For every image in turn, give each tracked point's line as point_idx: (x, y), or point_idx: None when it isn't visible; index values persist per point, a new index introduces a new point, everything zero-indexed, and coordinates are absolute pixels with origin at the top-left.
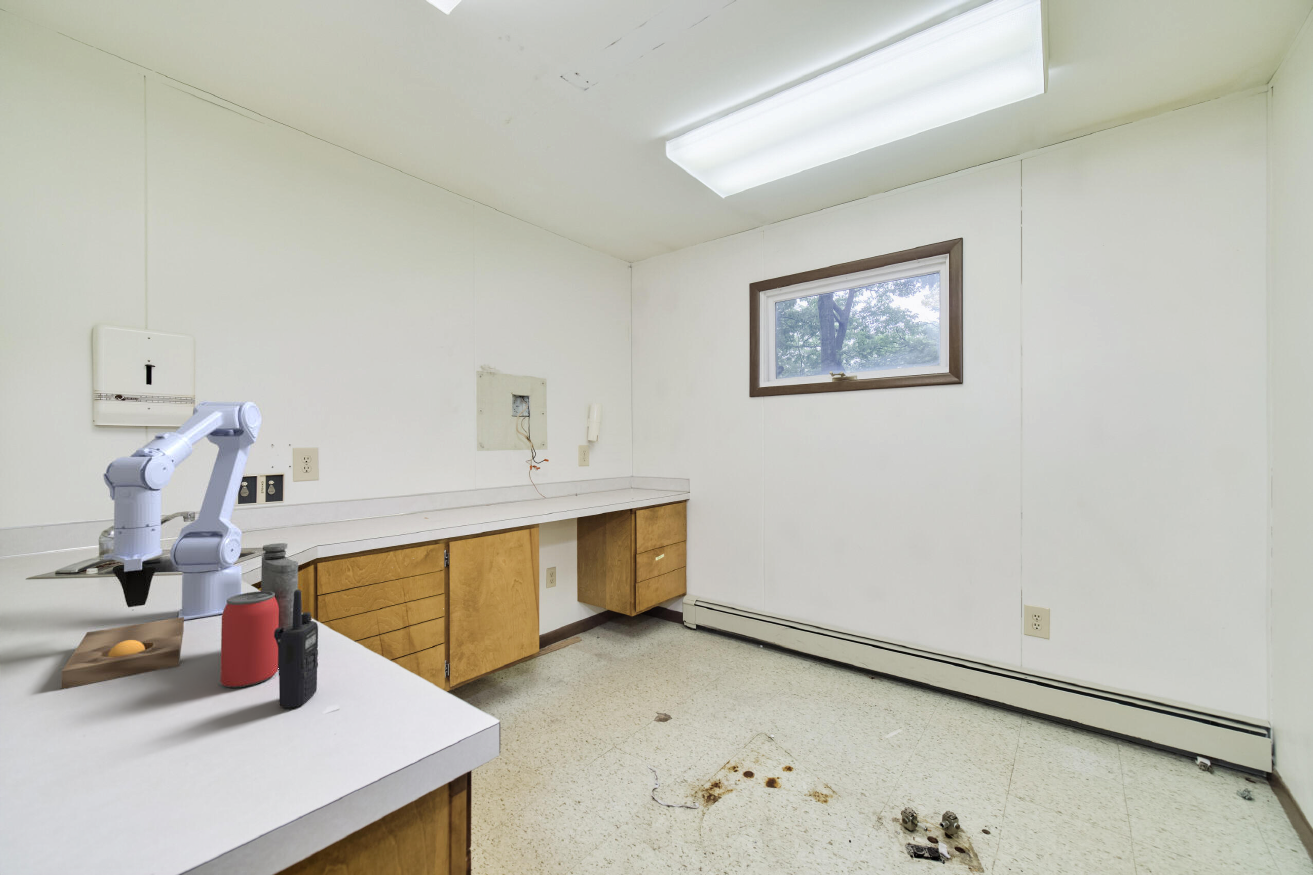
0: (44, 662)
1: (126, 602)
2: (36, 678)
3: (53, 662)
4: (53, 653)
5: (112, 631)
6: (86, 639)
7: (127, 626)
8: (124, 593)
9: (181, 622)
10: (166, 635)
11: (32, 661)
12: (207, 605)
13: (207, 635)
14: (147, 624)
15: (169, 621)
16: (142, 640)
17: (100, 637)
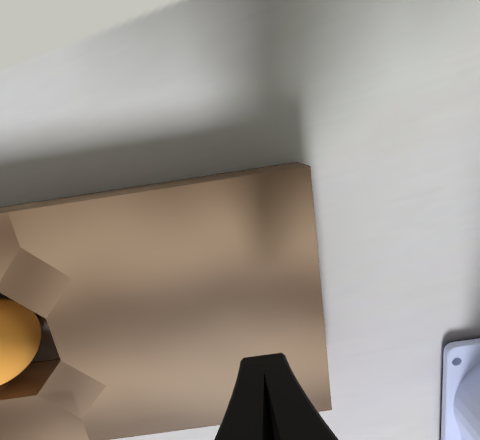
0: (183, 89)
1: (240, 373)
2: (17, 127)
3: (167, 117)
4: (282, 80)
5: (263, 249)
6: (191, 196)
7: (309, 278)
8: (223, 422)
9: None
10: (110, 408)
11: (217, 45)
12: (474, 436)
13: None
14: (294, 331)
15: None
16: (80, 363)
17: (194, 234)
